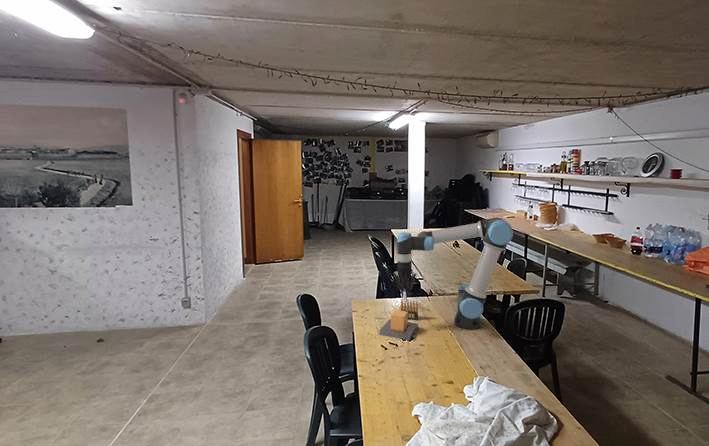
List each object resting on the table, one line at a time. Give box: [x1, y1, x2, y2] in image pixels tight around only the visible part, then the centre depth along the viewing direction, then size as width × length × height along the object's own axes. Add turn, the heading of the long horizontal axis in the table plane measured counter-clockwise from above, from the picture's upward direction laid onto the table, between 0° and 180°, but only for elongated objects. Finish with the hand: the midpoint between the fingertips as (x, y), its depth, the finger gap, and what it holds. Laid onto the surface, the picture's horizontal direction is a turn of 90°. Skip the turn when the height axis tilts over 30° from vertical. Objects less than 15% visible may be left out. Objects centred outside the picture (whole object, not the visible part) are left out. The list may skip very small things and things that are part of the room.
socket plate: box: [378, 318, 419, 341], centre depth 216 cm, size 17×17×2 cm
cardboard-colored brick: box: [390, 309, 409, 332], centre depth 216 cm, size 7×8×10 cm
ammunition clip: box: [399, 298, 419, 321], centre depth 233 cm, size 11×2×12 cm, turn 71°
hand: (405, 302), depth 218 cm, fingers closed
